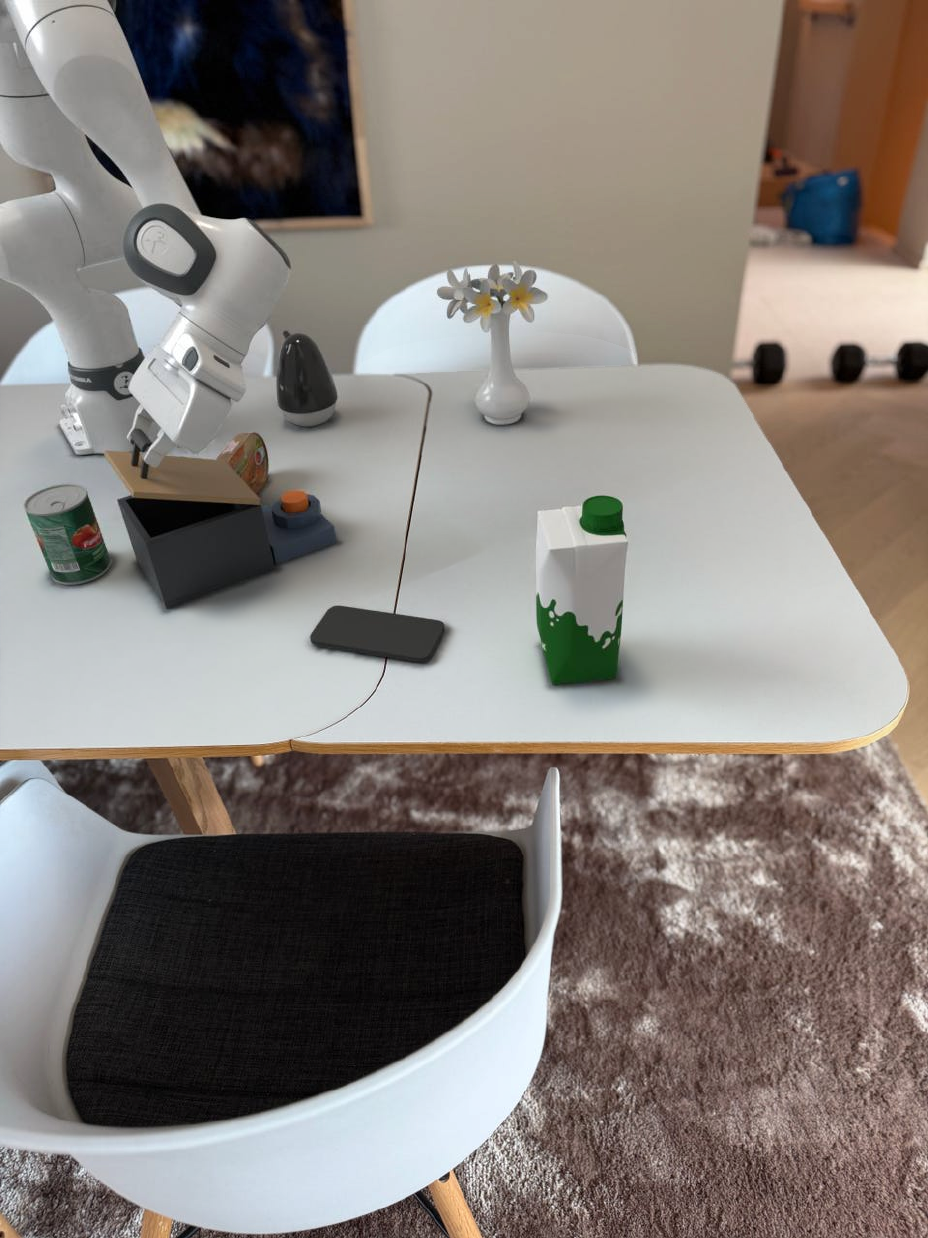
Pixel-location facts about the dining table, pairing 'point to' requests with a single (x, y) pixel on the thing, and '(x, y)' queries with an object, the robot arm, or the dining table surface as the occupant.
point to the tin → (248, 459)
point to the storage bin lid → (178, 477)
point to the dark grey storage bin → (196, 545)
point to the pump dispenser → (304, 382)
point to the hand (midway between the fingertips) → (140, 453)
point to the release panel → (297, 530)
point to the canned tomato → (68, 533)
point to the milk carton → (581, 589)
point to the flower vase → (496, 333)
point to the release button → (294, 501)
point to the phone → (378, 633)
